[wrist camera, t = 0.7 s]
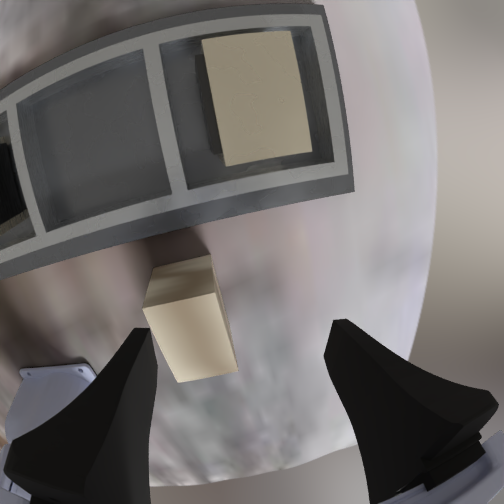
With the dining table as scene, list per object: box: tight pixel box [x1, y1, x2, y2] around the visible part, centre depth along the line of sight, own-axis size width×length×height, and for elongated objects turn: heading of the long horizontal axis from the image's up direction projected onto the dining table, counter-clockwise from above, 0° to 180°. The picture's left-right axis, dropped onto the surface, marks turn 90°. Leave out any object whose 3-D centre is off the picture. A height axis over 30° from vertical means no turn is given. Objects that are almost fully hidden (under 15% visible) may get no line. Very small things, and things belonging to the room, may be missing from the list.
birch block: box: [142, 254, 239, 383], centre depth 18 cm, size 4×6×5 cm, turn 10°
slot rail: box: [0, 4, 355, 280], centre depth 13 cm, size 30×13×5 cm, turn 100°
